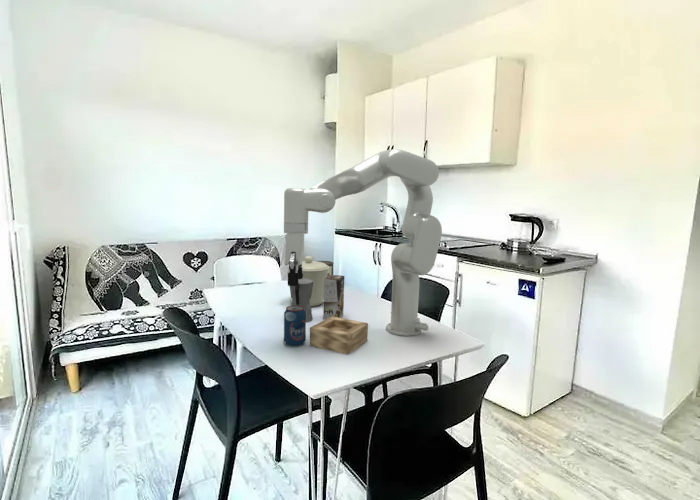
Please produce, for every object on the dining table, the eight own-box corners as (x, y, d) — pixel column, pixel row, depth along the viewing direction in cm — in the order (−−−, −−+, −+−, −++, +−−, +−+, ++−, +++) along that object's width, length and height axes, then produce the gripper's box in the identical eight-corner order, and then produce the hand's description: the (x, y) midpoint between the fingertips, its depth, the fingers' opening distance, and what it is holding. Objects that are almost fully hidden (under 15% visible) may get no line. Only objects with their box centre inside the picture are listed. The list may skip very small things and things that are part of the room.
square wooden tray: (367, 340, 139) (368, 323, 138) (348, 354, 127) (348, 335, 126) (331, 332, 145) (331, 316, 145) (309, 345, 133) (309, 327, 132)
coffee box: (338, 321, 158) (340, 280, 156) (322, 320, 159) (323, 278, 157) (344, 314, 167) (345, 275, 165) (328, 313, 168) (329, 274, 166)
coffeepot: (291, 313, 166) (292, 269, 164) (315, 314, 166) (316, 270, 163) (283, 326, 151) (283, 277, 148) (309, 327, 150) (309, 278, 148)
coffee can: (320, 286, 213) (320, 259, 211) (336, 290, 207) (337, 262, 205) (307, 290, 204) (308, 262, 202) (324, 294, 199) (325, 265, 197)
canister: (321, 297, 193) (322, 252, 190) (334, 307, 176) (335, 258, 173) (282, 299, 186) (283, 253, 183) (292, 311, 170) (293, 260, 167)
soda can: (293, 349, 130) (293, 312, 128) (279, 343, 134) (279, 307, 133) (309, 343, 135) (310, 308, 133) (296, 338, 139) (296, 303, 138)
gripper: (288, 225, 138) (287, 276, 140) (279, 230, 120) (278, 288, 123) (310, 226, 138) (309, 276, 140) (305, 231, 121) (303, 289, 123)
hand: (295, 282), depth 131 cm, fingers open, 9 cm apart
